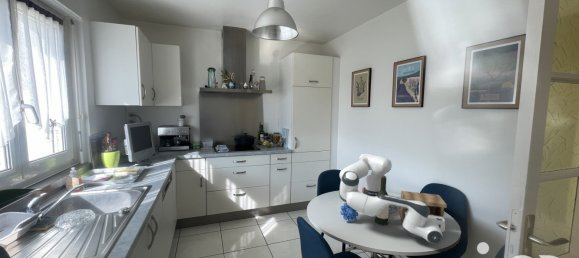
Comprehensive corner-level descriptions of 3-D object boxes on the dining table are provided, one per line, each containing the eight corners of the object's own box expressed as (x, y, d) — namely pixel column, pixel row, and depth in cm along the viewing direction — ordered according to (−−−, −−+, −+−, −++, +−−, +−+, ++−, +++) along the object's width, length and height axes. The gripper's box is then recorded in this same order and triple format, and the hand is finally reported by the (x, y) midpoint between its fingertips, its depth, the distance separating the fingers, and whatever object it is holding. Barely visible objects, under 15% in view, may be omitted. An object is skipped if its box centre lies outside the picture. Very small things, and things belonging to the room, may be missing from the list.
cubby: (403, 226, 144) (404, 199, 142) (399, 215, 159) (401, 190, 158) (444, 232, 137) (446, 204, 136) (436, 220, 152) (438, 194, 151)
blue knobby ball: (345, 225, 143) (340, 204, 145) (341, 223, 149) (337, 203, 151) (362, 221, 145) (358, 201, 147) (358, 219, 151) (353, 200, 153)
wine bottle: (372, 218, 153) (374, 174, 151) (385, 219, 153) (388, 174, 150) (376, 225, 145) (379, 177, 142) (390, 225, 144) (393, 178, 142)
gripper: (406, 225, 135) (403, 215, 149) (447, 232, 129) (440, 221, 142) (407, 215, 135) (403, 206, 148) (448, 221, 129) (440, 211, 142)
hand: (421, 213), depth 145 cm, fingers open, 8 cm apart
